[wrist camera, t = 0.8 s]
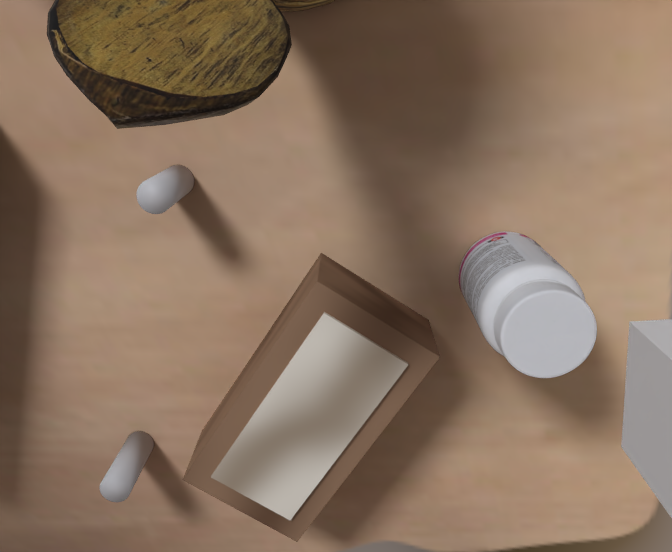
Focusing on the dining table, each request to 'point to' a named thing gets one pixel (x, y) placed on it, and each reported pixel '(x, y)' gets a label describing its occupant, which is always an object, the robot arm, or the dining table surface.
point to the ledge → (138, 446)
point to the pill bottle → (527, 305)
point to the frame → (312, 399)
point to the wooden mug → (171, 54)
